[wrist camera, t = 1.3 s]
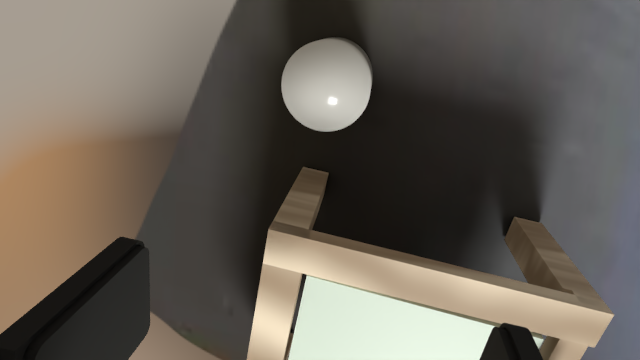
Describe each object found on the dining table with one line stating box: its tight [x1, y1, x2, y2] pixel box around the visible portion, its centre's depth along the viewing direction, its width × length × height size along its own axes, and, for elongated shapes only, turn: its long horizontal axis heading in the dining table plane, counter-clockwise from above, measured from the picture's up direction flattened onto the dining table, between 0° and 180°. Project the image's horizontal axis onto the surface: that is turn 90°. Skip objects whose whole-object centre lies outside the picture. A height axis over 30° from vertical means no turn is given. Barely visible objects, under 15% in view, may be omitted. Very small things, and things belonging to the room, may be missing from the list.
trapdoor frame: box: [247, 167, 614, 360], centre depth 29 cm, size 18×18×10 cm
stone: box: [281, 37, 373, 132], centre depth 26 cm, size 5×5×5 cm
